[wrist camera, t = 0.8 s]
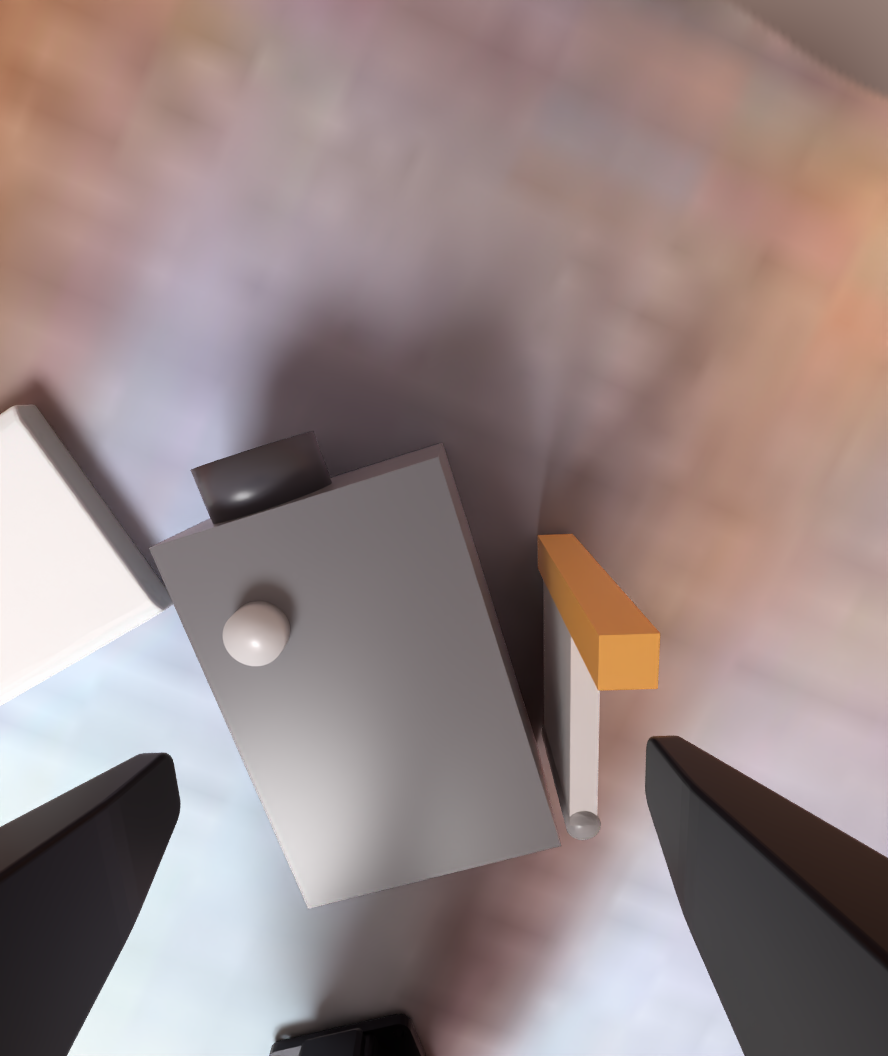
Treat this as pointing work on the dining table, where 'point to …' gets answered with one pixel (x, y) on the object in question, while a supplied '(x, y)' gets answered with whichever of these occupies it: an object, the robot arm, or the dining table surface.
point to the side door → (585, 668)
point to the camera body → (359, 667)
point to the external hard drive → (60, 560)
